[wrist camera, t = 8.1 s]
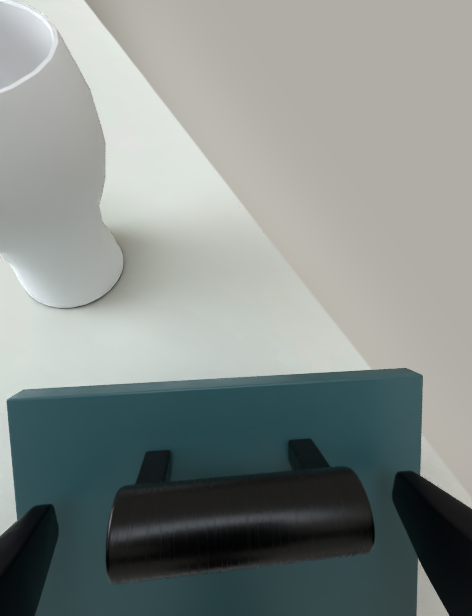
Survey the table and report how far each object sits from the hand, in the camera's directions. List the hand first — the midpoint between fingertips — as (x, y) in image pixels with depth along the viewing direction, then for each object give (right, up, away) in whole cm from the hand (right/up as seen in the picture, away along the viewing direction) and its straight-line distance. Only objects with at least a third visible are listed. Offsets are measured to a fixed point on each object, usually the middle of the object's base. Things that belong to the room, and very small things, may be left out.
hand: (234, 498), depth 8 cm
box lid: (0, -3, +2) cm, 3 cm away
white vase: (-13, +8, +17) cm, 23 cm away
